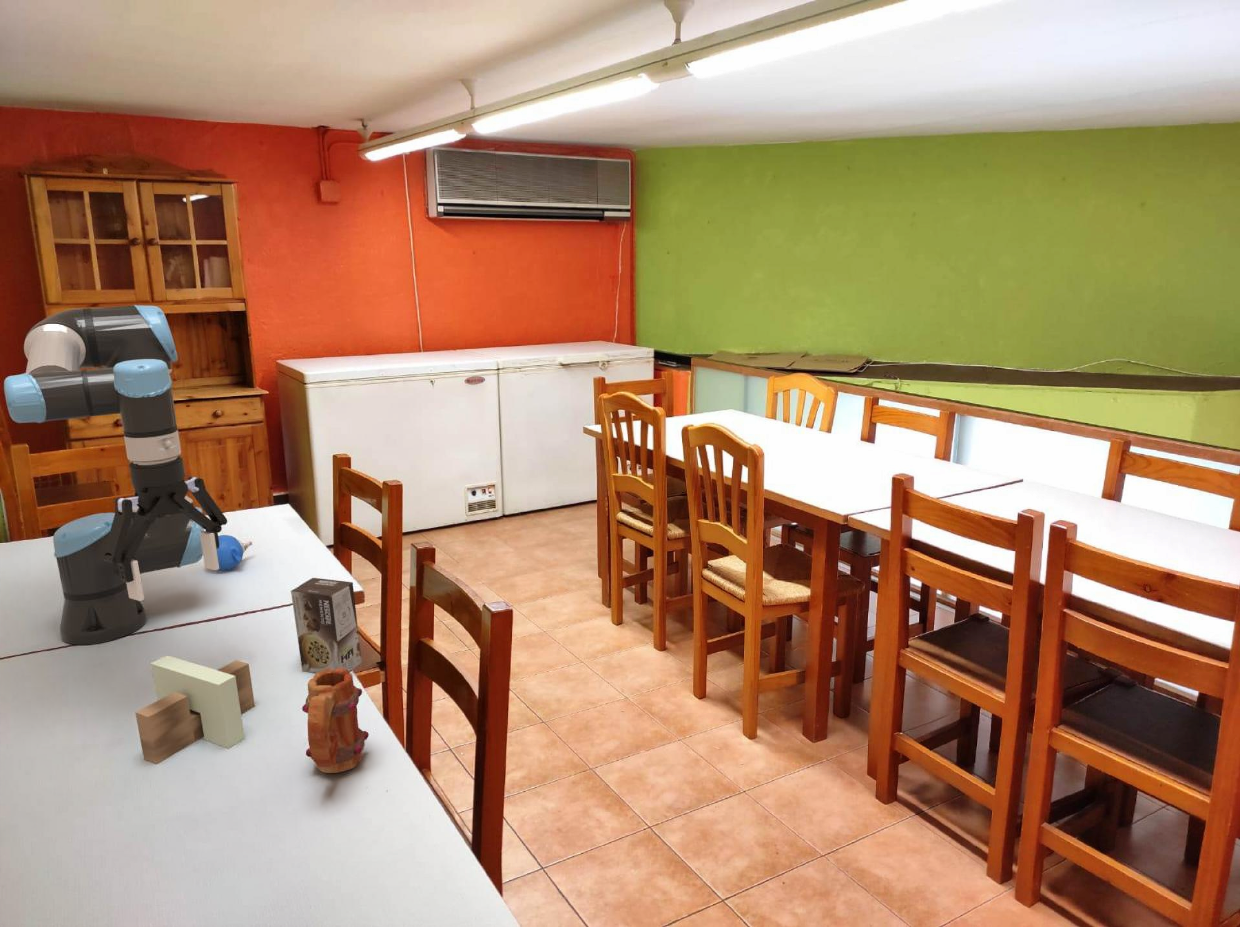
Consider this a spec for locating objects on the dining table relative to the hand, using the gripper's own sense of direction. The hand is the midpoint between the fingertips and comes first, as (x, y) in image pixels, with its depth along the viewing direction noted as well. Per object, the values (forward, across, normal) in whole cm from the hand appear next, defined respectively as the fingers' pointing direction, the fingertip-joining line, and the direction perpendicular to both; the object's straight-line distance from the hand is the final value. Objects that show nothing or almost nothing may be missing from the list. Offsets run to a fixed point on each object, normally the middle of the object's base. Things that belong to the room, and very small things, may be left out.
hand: (176, 583), depth 139 cm
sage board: (+22, -6, -9) cm, 24 cm away
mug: (+22, -4, -37) cm, 43 cm away
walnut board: (+22, -6, -9) cm, 24 cm away
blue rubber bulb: (+24, +46, +48) cm, 70 cm away
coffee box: (+22, +19, -12) cm, 32 cm away
